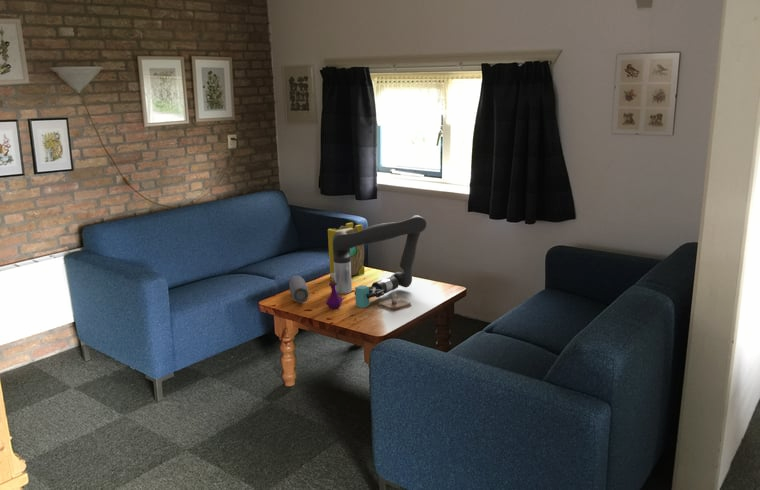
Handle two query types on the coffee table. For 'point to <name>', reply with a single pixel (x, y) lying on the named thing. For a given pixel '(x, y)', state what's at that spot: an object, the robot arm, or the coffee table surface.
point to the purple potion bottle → (333, 295)
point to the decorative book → (355, 252)
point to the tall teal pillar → (362, 296)
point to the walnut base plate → (394, 303)
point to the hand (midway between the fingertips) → (361, 295)
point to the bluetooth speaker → (298, 289)
